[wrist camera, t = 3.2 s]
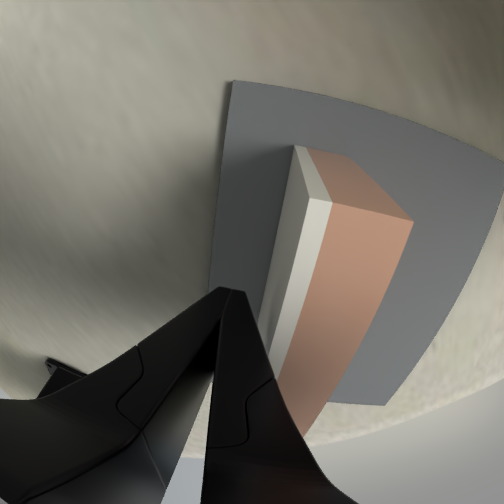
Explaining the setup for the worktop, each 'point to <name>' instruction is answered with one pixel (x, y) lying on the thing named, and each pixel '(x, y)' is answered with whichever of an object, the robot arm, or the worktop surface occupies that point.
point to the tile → (326, 275)
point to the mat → (391, 181)
